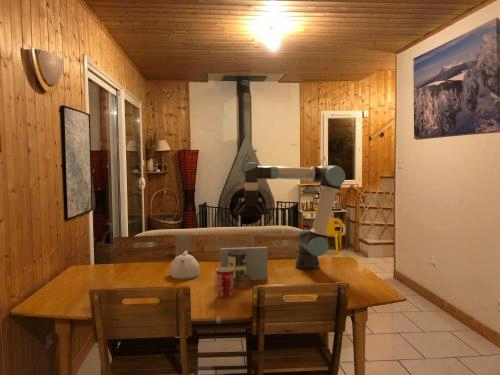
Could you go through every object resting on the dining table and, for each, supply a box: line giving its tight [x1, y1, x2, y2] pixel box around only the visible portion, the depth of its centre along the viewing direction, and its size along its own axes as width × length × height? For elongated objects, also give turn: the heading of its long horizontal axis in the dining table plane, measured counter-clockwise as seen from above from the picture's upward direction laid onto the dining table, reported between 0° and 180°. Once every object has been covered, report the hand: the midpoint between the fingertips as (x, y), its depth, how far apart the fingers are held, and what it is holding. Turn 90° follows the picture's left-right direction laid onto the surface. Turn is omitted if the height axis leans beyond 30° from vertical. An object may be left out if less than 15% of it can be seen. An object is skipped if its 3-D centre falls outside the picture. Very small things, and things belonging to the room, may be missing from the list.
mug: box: [215, 267, 234, 299], centre depth 211 cm, size 13×9×14 cm
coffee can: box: [227, 251, 247, 278], centre depth 233 cm, size 10×10×14 cm
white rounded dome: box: [169, 250, 200, 280], centre depth 251 cm, size 19×18×14 cm
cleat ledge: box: [233, 275, 253, 289], centre depth 233 cm, size 14×14×5 cm
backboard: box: [220, 246, 268, 281], centre depth 242 cm, size 26×2×18 cm, turn 98°
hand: (251, 226), depth 248 cm, fingers open, 13 cm apart
